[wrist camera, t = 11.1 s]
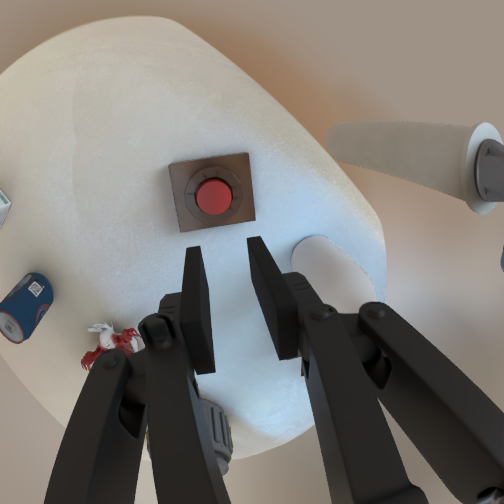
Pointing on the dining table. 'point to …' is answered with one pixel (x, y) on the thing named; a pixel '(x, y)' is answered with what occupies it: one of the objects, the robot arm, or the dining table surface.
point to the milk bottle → (333, 274)
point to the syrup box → (3, 207)
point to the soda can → (25, 307)
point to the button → (213, 197)
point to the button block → (200, 170)
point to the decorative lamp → (215, 434)
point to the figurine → (110, 342)
